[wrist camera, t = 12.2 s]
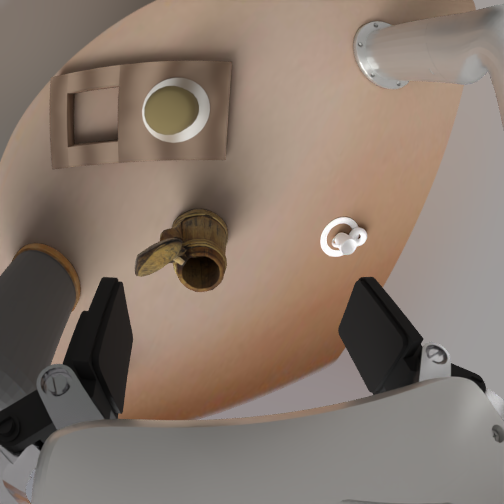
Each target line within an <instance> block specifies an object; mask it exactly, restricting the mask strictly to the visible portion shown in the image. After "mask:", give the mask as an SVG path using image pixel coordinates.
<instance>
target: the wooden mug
mask: <svg viewBox="0 0 504 504" xmlns="http://www.w3.org/2000/svg"><path fill="white" fill-rule="evenodd" d="M227 239H228V230H227V226H226V224H225V222H224V221H223V220H222V218H220V217H219V216H218V215H217V214H215V213H213V212H211V211H208V210H205V209H194V210H191V211H188V212H186V213H184V214H182V215H181V216H179V217H178V218H177V219H176V220H175V221H174V223H173V226H172V228H171V229H167V230H164V231H163V232H162V233H161V235H160V242H158V243H156V244H154V245H152V246H150V247H149V248H147V249H146V250H144V251H143V252H141V253H140V254H138V255H137V258H136V263H135V274H136V276H141V277H142V276H146V275H150V274H152V273H154V272H156V271H158V270H159V269H161V268H162V267H164V266H165V265H167V264H168V263H173V266H174V270H175V272H176V274H177V276H178V278H179V280H180V282H181V283H182V284H183V285H184V286H186V287H187V288H188V289H190V290H193V291H195V292H204V291H209V290H213V289H214V288H215V287H217V286H218V285H219V284H220V283H221V281H222V280H223V276H224V273H225V270H226V266H227V261H226V256H225V251H226V244H227Z"/></svg>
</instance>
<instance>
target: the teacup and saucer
mask: <svg viewBox="0 0 504 504" xmlns="http://www.w3.org/2000/svg"><path fill="white" fill-rule="evenodd" d="M341 223H345V224H348V225H349V226H350V227H351V228H352V231H351V232H350V233H349V235H347V234H346V233H342V232H341V233H338V234H337V235H336V236H335V238H333V240H332V246H334V247H338V248H339V249H340V250H338V251H336V250H332V249H330V248H329V246H328V245H327V235H328V233H329V231H330V230H331V229H332V228H333V227H334V226H335V225H337V224H341ZM359 234H360V235H361V237H360V239H358V238H359ZM366 239H367V233H366V231H365V230H364V229H363V228H359V227H358V225H357V223H356V222H355V221H354V220H353V219H351V218H348V217H340V218H337V219H335V220H333V221H331V222H330V223H329V224H328V225H327V226H326V227H325V229H324V230H323V232H322V235H321V241H320V242H321V247H322V249H323V251H324V252H325V253H326V254H328V255H330V256H334V257H337V256H342V255H349V254H351V253H353V252H354V251H355V249H356V246H360V245H362V244H363V243H364V242H365V241H366ZM334 240H335V243H336V244H334V243H333V241H334Z"/></svg>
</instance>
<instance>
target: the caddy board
mask: <svg viewBox="0 0 504 504" xmlns="http://www.w3.org/2000/svg"><path fill="white" fill-rule="evenodd" d="M231 71H232V62H226V61H159V62H144V63H133V64H123V65H115V66H108V67H101V68H95V69H89V70H83V71H78V72H73V73H68V74H64V75H60V76H55V77H52V78H51V84H50V142H51V157H52V169H60V168H68V167H77V166H86V165H96V164H108V163H121V162H138V161H160V160H225V159H226V141H227V125H228V110H229V96H230V83H231ZM165 86H178V87H181V88H183V89H186V90H188V91H190V92H191V93H193V94H194V96H195V97H196V98H197V100H198V104H199V113H198V116H197V119H196V120H195V121H194V123H193V124H192V125H191V126H189V127H188V128H187V129H184V130H183V131H182V132H180V133H177V134H174V135H163V134H159V133H157V132H155V131H154V130H152V129H151V128H150V127H149V125H148V124H147V122H146V119H145V116H144V108H145V105H146V102H147V100H148V98H149V97H150V96H151V94H152V93H154V92H155V91H156V90H158V89H159V88H162V87H165ZM114 87H119V96H118V140H111V141H101V142H92V143H83V144H76V145H74V117H73V113H74V93H80V92H85V91H92V90H98V89H106V88H114Z"/></svg>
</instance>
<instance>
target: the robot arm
mask: <svg viewBox="0 0 504 504" xmlns="http://www.w3.org/2000/svg"><path fill="white" fill-rule="evenodd" d="M353 47H354V55H355V59H356V61H357V64H358V66H359V68H360V69H361V71H362V72H363V74H364V75H365V76H366V77H367V78H368V79H369V80H370V81H371V82H372V83H374V84H376V85H377V86H379V87H382V88H386V89H399V88H401V87H404V86H405V85H406V84H408V82H409V81H427V82H441V83H452V84H463V85H467V84H472V83H475V82H477V81H478V80H480V79H481V78H482V77H483V76H484V75H485V74H486V73H487V72H489V74H490V78H491V81H492V84H493V86H494V90H495V93H496V97H497V101H498V106H499V110H500V115H501V120H502V124H503V129H504V4H502V5H495V6H491V7H487V8H483V9H479V10H475V11H470V12H466V13H460V14H454V15H447V16H440V17H434V18H427V19H422V20H416V21H411V22H407V23H402V24H398V25H393V26H392V25H390V24H388V23H385V22H380V21H375V22H370V23H367V24H365V25H363V26H362V27H361V28H360V29H359V30H358V31H357V33H356V35H355V38H354V45H353ZM338 331H339V335H340V337H341V339H342V341H343V343H344V345H345V347H346V348H347V350H348V352H349V354H350V356H351V358H352V360H353V361H354V363H355V365H356V367H357V369H358V371H359V373H360V375H361V377H362V378H363V380H364V382H365V384H366V386H367V388H368V390H369V391H370V392H372V393H373V395H372V396H369V397H365V398H361V399H356V400H353V401H348V402H343V403H339V404H334V405H329V406H325V407H319V408H314V409H308V410H302V411H295V412H289V413H281V414H274V415H265V416H257V417H245V418H232V419H215V420H135V419H118V413H121V414H122V412H123V406H124V397H125V389H126V382H127V375H128V368H129V361H130V355H131V349H132V343H133V334H132V329H131V325H130V320H129V315H128V310H127V304H126V299H125V293H124V287H123V283H122V282H118V279H117V278H109V277H103V278H102V279H101V281H100V284H99V286H98V288H97V291H96V293H95V296H94V298H93V300H92V303H91V305H90V308H89V311H83V312H82V313H81V315H80V318H79V320H78V323H77V325H76V328H75V330H74V333H73V336H72V338H71V341H70V344H69V347H68V350H67V353H66V355H65V358H64V361H63V364H53V365H50V366H48V367H46V368H45V369H43V370H42V371H41V373H40V374H39V376H38V378H37V384H36V386H37V390H35V391H34V392H32V393H30V394H28V395H27V396H25V397H23V398H22V399H20V400H18V401H17V402H15V403H13V404H12V405H10V406H8V407H6V408H5V409H3V410H1V411H0V504H504V400H503V399H502V398H501V397H499V396H498V395H497V394H495V393H494V392H493V391H491V390H490V389H487V390H486V386H485V383H484V381H483V379H482V378H481V377H480V376H479V375H477V374H475V373H473V372H471V371H468V370H466V369H463V368H461V367H459V366H456V365H454V364H452V363H451V358H450V355H449V353H448V351H447V350H446V349H445V348H444V347H443V346H441V345H439V344H437V343H433V342H429V343H426V344H425V345H424V346H423V347H422V346H421V342H422V341H423V338H422V336H421V335H420V334H419V333H418V331H417V330H416V329H415V327H414V326H413V325H412V324H411V322H410V321H409V320H408V318H407V317H406V316H405V315H404V314H403V312H402V311H401V310H400V308H399V307H398V306H397V305H396V304H395V302H394V301H393V300H392V299H391V297H390V296H389V295H388V294H387V293H386V292H385V290H384V289H383V288H382V286H381V285H380V284H379V283H378V282H377V281H376V279H375V278H373V277H361V278H360V279H359V280H358V281H357V282H356V283H355V285H354V288H353V291H352V294H351V296H350V299H349V302H348V305H347V307H346V310H345V313H344V315H343V318H342V320H341V323H340V325H339V330H338ZM34 469H36V470H35V475H34V481H33V488H32V500H31V503H30V501H29V500H28V498H27V496H26V486H27V483H28V482H29V480H30V479H31V476H30V474H31V473H32V472H33V471H34Z"/></svg>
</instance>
